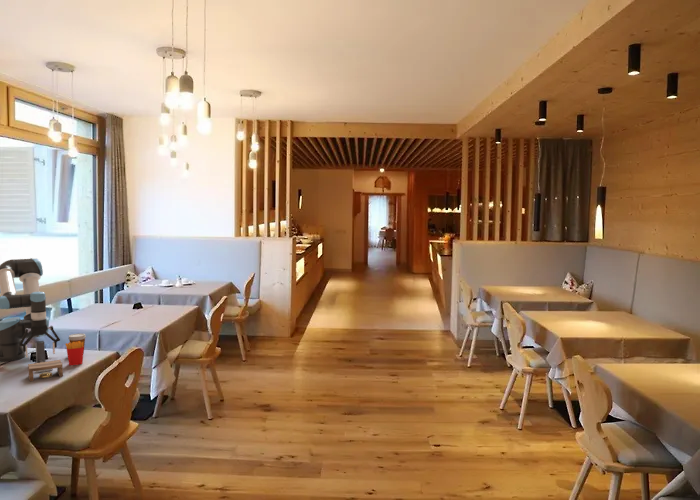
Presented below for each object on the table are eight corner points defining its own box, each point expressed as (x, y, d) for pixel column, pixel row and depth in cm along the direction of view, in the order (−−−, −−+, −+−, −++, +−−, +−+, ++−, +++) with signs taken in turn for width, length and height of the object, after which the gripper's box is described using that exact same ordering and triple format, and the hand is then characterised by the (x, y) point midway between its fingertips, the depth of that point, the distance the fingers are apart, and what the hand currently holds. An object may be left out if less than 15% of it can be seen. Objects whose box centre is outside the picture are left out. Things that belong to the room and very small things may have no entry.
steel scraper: (32, 362, 303) (31, 342, 302) (48, 360, 308) (47, 340, 306) (35, 372, 285) (34, 351, 284) (52, 370, 289) (51, 349, 288)
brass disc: (38, 376, 280) (38, 373, 280) (51, 374, 284) (51, 371, 284) (39, 379, 275) (39, 376, 275) (52, 377, 279) (52, 374, 279)
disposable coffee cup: (79, 357, 314) (78, 337, 313) (65, 356, 316) (64, 336, 315) (90, 352, 323) (89, 333, 322) (76, 351, 325) (75, 332, 324)
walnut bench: (28, 376, 279) (28, 364, 279) (60, 371, 288) (60, 359, 287) (30, 381, 271) (29, 369, 271) (62, 376, 280) (62, 364, 279)
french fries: (84, 361, 305) (83, 339, 304) (84, 363, 301) (83, 341, 300) (66, 364, 301) (65, 341, 300) (66, 366, 297) (65, 343, 296)
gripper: (13, 322, 291) (15, 360, 293) (64, 317, 305) (65, 353, 307) (12, 320, 297) (14, 357, 299) (62, 315, 311) (64, 350, 313)
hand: (40, 355), depth 303 cm, fingers open, 13 cm apart
